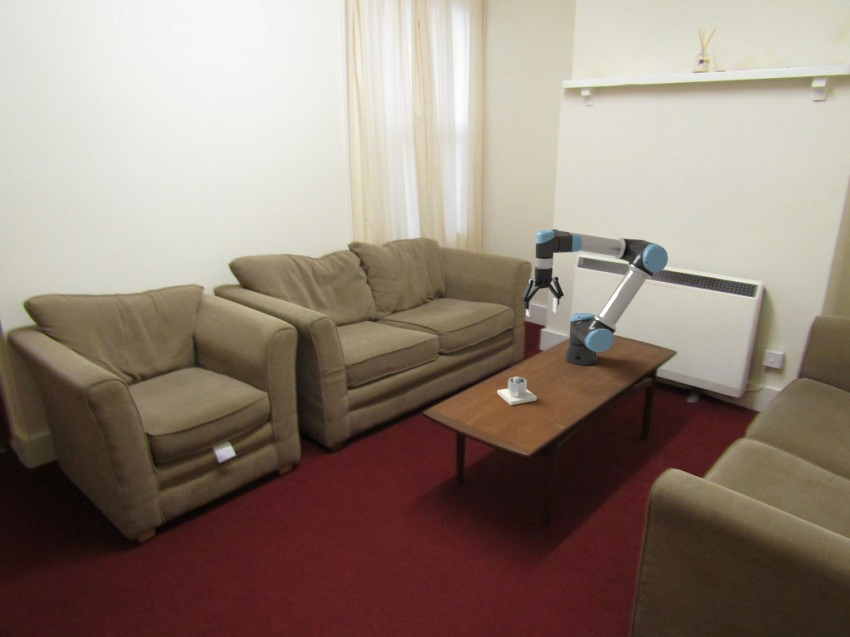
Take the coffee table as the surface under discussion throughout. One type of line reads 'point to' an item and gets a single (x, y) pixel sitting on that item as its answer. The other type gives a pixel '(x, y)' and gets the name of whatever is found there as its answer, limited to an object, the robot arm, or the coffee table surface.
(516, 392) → the tube
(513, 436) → the coffee table surface
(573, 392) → the coffee table surface
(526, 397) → the post
